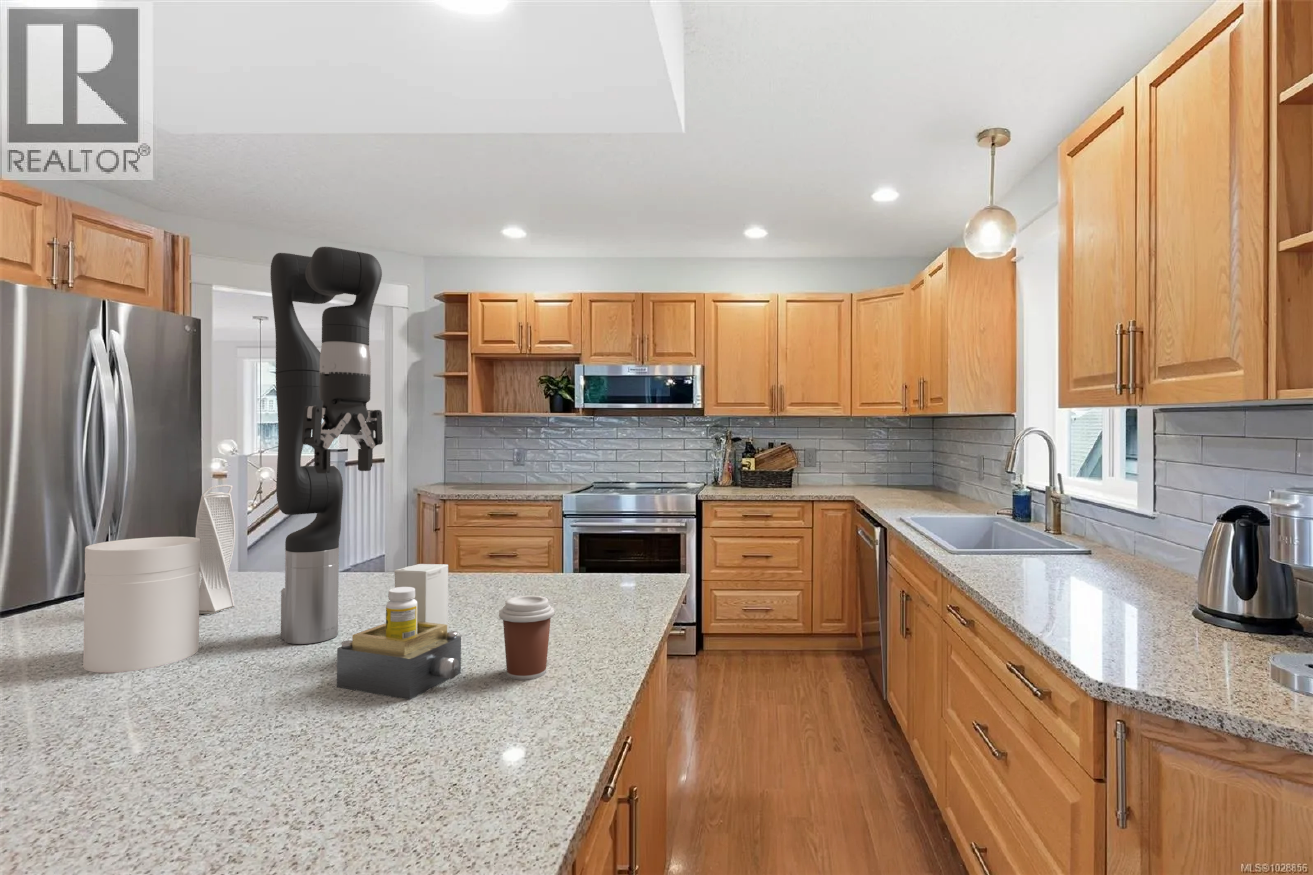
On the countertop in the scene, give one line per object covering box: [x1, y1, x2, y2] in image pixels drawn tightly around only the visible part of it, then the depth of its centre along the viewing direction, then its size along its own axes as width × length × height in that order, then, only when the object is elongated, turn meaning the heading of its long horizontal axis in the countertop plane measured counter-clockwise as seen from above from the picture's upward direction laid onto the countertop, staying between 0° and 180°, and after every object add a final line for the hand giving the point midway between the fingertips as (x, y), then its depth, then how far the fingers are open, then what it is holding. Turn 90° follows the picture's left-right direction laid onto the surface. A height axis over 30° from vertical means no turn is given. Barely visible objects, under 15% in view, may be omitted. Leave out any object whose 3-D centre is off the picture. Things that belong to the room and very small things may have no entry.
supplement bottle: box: [385, 587, 417, 639], centre depth 105 cm, size 5×5×8 cm
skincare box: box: [393, 563, 449, 633], centre depth 118 cm, size 8×7×16 cm
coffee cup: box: [498, 594, 556, 681], centre depth 108 cm, size 9×9×12 cm
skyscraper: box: [195, 484, 236, 615], centre depth 147 cm, size 8×8×28 cm
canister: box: [82, 536, 201, 674], centre depth 115 cm, size 16×16×20 cm
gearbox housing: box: [336, 621, 462, 701], centre depth 104 cm, size 17×12×8 cm
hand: (344, 472), depth 106 cm, fingers open, 8 cm apart
